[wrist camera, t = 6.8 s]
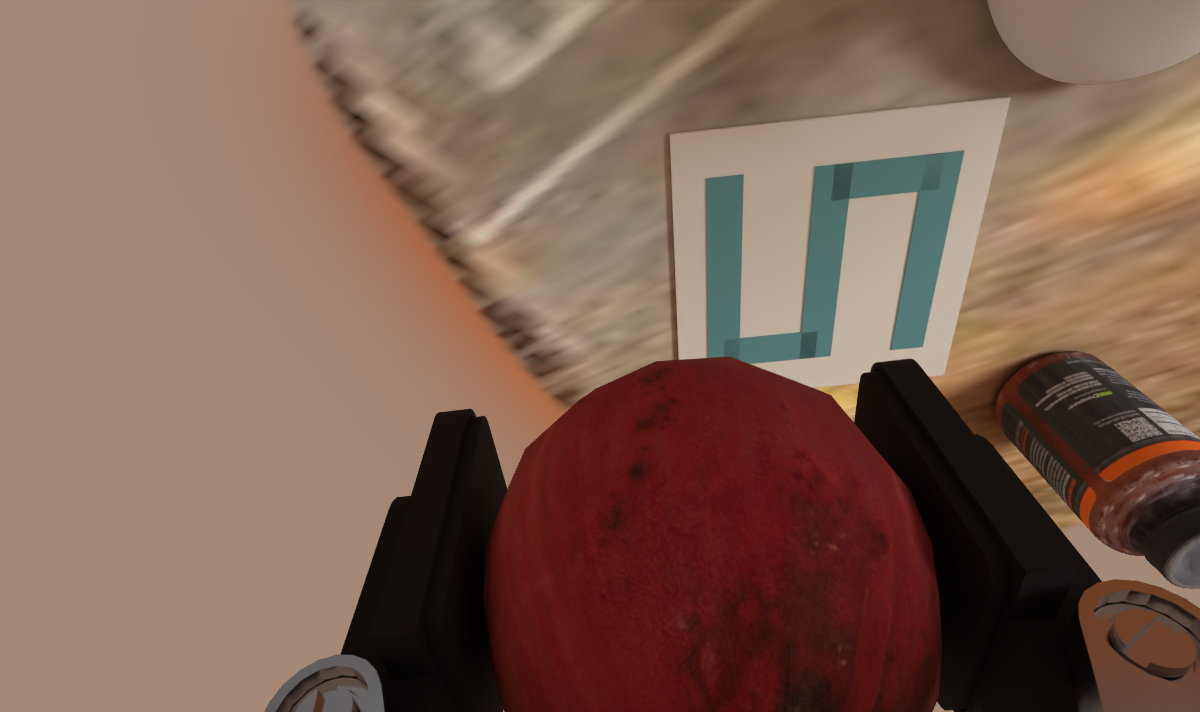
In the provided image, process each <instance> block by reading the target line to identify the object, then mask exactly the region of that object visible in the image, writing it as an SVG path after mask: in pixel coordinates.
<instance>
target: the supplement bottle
mask: <svg viewBox="0 0 1200 712" xmlns="http://www.w3.org/2000/svg"><path fill="white" fill-rule="evenodd" d="M995 418H996V421H997V423H998V425H999V427H1000V428H1001V429H1002V431H1003V432H1004V433H1005V435H1006V436H1007V437H1008V438H1009V440H1010V441H1011V442H1012V443H1013V444H1014V445H1015V446H1016V447H1017V448H1018V450H1019V451H1020V452H1021V453H1022V454H1023V455H1024V456H1025V457H1026V459H1027V460H1028V461H1029V462H1030V463H1031V464H1032V465H1033V466H1034V468H1035V469H1036V470H1037V471H1038V472H1039V473H1040V475H1041V476H1042V477H1043V478H1044V479H1045V480H1046V481H1047V483H1048V484H1049V485H1050V486H1051V487H1052V488H1053V489H1054V490H1055V491H1056V493H1057V494H1058V495H1059V496H1060V497H1061V498H1062V499H1063V501H1064V502H1065V503H1066V504H1067V505H1068V506H1069V507H1070V509H1071V510H1072V511H1073V512H1074V513H1075V514H1076V515H1077V516H1078V518H1079V519H1080V520H1081V521H1082V522H1083V523H1084V524H1085V525H1086V526H1087V528H1088V529H1089V530H1090V531H1091V532H1092V533H1093V534H1094V536H1095V537H1097V538H1098V539H1099V540H1100V541H1101V542H1102V543H1104V544H1105V545H1107V546H1108V547H1110V548H1112V549H1114V550H1116V551H1118V552H1121V553H1125V554H1128V555H1135V556H1145V558H1146V559H1147V560H1148V561H1149V562H1150V564H1152V565H1153V566H1154V567H1155V568H1156V569H1157V570H1158V571H1159V572H1160V573H1161V574H1162V575H1163V576H1164V577H1165V578H1166V579H1167V580H1168V581H1169V582H1170V583H1172V584H1174V585H1175V586H1178V587H1182V588H1190V589H1199V588H1200V438H1198V437H1197V436H1196V435H1195V434H1193V433H1192V432H1191V431H1190V430H1188V429H1187V428H1186V427H1184V426H1183V425H1182V424H1181V423H1179V422H1178V421H1177V420H1176V419H1174V418H1173V417H1172V416H1171V415H1169V414H1168V413H1167V412H1165V411H1164V410H1163V409H1162V408H1161V407H1159V406H1158V405H1157V404H1156V403H1154V402H1153V401H1152V400H1151V399H1149V398H1148V397H1147V396H1145V395H1144V394H1143V393H1142V392H1141V391H1139V390H1138V389H1137V388H1136V387H1134V386H1133V385H1132V384H1130V383H1129V382H1128V381H1127V380H1126V379H1124V378H1123V377H1122V376H1120V375H1119V374H1118V373H1117V372H1115V371H1114V370H1113V369H1112V368H1111V367H1109V366H1108V365H1106V364H1105V363H1103V362H1102V361H1101V360H1099V359H1098V358H1097V357H1095V356H1093V355H1090V354H1087V353H1083V352H1078V351H1069V352H1068V351H1066V352H1058V353H1053V354H1049V355H1046V356H1044V357H1041V358H1039V359H1037V360H1034V361H1033V362H1030V363H1028V364H1027V365H1025V366H1024V367H1023V368H1021V369H1020V370H1019V371H1017V372H1016V373H1015V374H1014V375H1013V376H1012V377H1011V378H1010V379H1009V380H1008V381H1007V382H1006V383H1005V384H1004V386H1003V388H1002V389H1001V391H1000V392H999V394H998V396H997V399H996V403H995Z"/></svg>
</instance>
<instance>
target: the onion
mask: <svg viewBox="0 0 1200 712" xmlns="http://www.w3.org/2000/svg"><path fill="white" fill-rule="evenodd" d="M483 601H484V610H485V618H486V627H487V635H488V644H489V652H490V659H491V664H492V668H493V672H494V676H495V680H496V685H497V689H498V693H499V697H500V701H501V705H502V707H503V709H504V711H505V712H932V711H933V709H934V707H935V704H936V702H937V700H938V697H939V687H940V675H941V663H942V633H941V617H940V600H939V593H938V585H937V577H936V570H935V562H934V554H933V547H932V543H931V540H930V538H929V535H928V533H927V530H926V528H925V525H924V523H923V520H922V518H921V516H920V513H919V511H918V508H917V506H916V503H915V501H914V498H913V496H912V493H911V491H910V489H909V488H908V487H907V486H906V485H905V483H904V482H903V481H902V480H901V479H900V477H899V476H898V475H897V474H896V473H895V472H894V470H893V469H892V468H891V467H890V466H889V464H888V463H887V462H886V461H885V460H884V458H883V457H882V456H881V455H880V454H879V453H878V451H877V450H876V449H875V448H874V447H873V445H872V444H871V443H870V442H869V441H868V439H867V438H866V437H865V436H864V435H863V433H862V432H861V431H860V430H859V429H858V427H857V426H856V425H855V424H854V422H853V421H852V420H851V419H850V418H849V416H848V415H847V414H846V413H845V412H844V410H843V409H842V408H841V407H840V406H839V404H838V403H837V402H836V401H835V400H834V398H833V397H832V396H831V395H829V394H827V393H824V392H822V391H819V390H817V389H814V388H812V387H809V386H807V385H804V384H802V383H799V382H797V381H794V380H792V379H789V378H786V377H783V376H781V375H778V374H775V373H773V372H770V371H767V370H765V369H762V368H759V367H757V366H754V365H751V364H749V363H746V362H743V361H741V360H738V359H735V358H732V357H730V356H726V357H712V358H698V359H684V360H670V361H656V362H654V363H652V364H649V365H647V366H645V367H643V368H641V369H638V370H636V371H634V372H632V373H630V374H627V375H625V376H623V377H621V378H619V379H616V380H614V381H612V382H610V383H607V384H605V385H603V386H601V387H599V388H596V389H595V390H593V391H592V392H591V393H589V394H588V395H586V396H585V397H583V398H582V399H581V400H579V401H578V402H577V403H576V404H574V405H573V406H572V407H571V408H570V409H569V410H568V411H567V412H566V413H564V414H563V415H562V416H561V417H560V418H559V419H558V420H557V421H556V422H554V423H553V424H552V425H551V426H550V427H549V428H548V429H547V430H546V431H545V432H543V433H542V434H541V435H540V436H539V437H538V438H537V439H536V440H535V441H533V443H531V444H530V445H529V446H528V447H527V448H526V449H525V451H524V453H523V455H522V458H521V460H520V462H519V465H518V467H517V469H516V471H515V474H514V476H513V478H512V480H511V483H510V485H509V487H508V490H507V492H506V494H505V496H504V499H503V501H502V503H501V506H500V509H499V511H498V514H497V517H496V520H495V523H494V526H493V528H492V531H491V534H490V537H489V540H488V542H487V545H486V548H485V566H484V590H483Z"/></svg>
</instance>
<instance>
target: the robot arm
mask: <svg viewBox="0 0 1200 712" xmlns="http://www.w3.org/2000/svg"><path fill="white" fill-rule="evenodd" d="M854 424H855V425H856V426H857V427H858V429H859V430H860V431H861V432H862V433H863V435H864V436H865V437H866V438H867V439H868V441H869V442H870V443H871V444H872V445H873V447H874V448H875V449H876V450H877V451H878V453H879V454H880V455H881V456H882V457H883V458H884V460H885V461H886V462H887V463H888V464H889V466H890V467H891V468H892V469H893V470H894V472H895V473H896V474H897V475H898V476H899V477H900V479H901V480H902V481H903V482H904V483H905V485H906V486H907V487H908V488H909V489H910V491H911V493H912V496H913V498H914V501H915V503H916V506H917V508H918V511H919V513H920V516H921V518H922V520H923V523H924V525H925V528H926V530H927V533H928V535H929V538H930V540H931V543H932V547H933V554H934V562H935V570H936V577H937V585H938V593H939V600H940V617H941V633H942V663H941V675H940V687H939V697H938V700H937V702H938V703H939V705H940V706H941V707H942V708H943V709H944V710H953V711H954V712H1200V608H1199V607H1197V606H1196V605H1194V604H1193V603H1191V602H1189V601H1188V600H1187V599H1185V598H1183V597H1181V596H1179V595H1176V594H1174V593H1172V592H1170V591H1167V590H1165V589H1163V588H1161V587H1157V586H1154V585H1150V584H1146V583H1143V582H1139V581H1130V580H1117V579H1115V580H1109V581H1104V582H1102V581H1101V580H1100V579H1099V577H1098V576H1097V575H1096V573H1095V572H1094V571H1093V570H1092V568H1091V567H1090V566H1089V565H1088V563H1087V562H1086V561H1085V560H1084V559H1083V557H1082V556H1081V555H1080V554H1079V552H1078V551H1077V550H1076V549H1075V547H1074V546H1073V545H1072V544H1071V542H1070V541H1069V540H1068V539H1067V537H1066V536H1065V535H1064V534H1063V532H1062V531H1061V530H1060V529H1059V527H1058V526H1057V525H1056V524H1055V522H1054V521H1053V520H1052V519H1051V517H1050V516H1049V515H1048V514H1047V513H1046V511H1045V510H1044V509H1043V508H1042V506H1041V505H1040V504H1039V503H1038V501H1037V500H1036V499H1035V498H1034V496H1033V495H1032V494H1031V493H1030V491H1029V490H1028V489H1027V488H1026V486H1025V485H1024V484H1023V483H1022V481H1021V480H1020V479H1019V478H1018V476H1017V475H1016V474H1015V473H1014V471H1013V470H1012V469H1011V468H1010V467H1009V465H1008V464H1007V463H1006V462H1005V460H1004V459H1003V458H1002V457H1001V455H1000V454H999V453H998V452H997V450H996V449H995V448H994V447H993V445H992V444H991V443H990V442H989V441H988V440H987V439H985V438H984V437H982V436H980V435H977V434H976V435H974V434H973V433H972V431H971V430H970V429H969V428H968V426H967V425H966V424H965V422H964V421H963V420H962V419H961V417H960V416H959V415H958V413H957V412H956V411H955V410H954V408H953V407H952V406H951V405H950V403H949V402H948V401H947V399H946V398H945V397H944V396H943V394H942V393H941V392H940V391H939V389H938V388H937V387H936V385H935V384H934V383H933V382H932V380H931V379H930V378H929V377H928V375H927V374H926V373H925V371H924V370H923V369H922V368H921V366H920V365H919V364H918V363H917V362H916V361H915V360H914V359H901V360H892V361H884V362H876V363H874V364H873V366H872V367H871V371H870V372H867V373H863V374H862V375H861V377H860V382H859V390H858V398H857V406H856V414H855V422H854ZM506 492H507V487H506V483H505V480H504V476H503V473H502V470H501V466H500V462H499V459H498V455H497V452H496V448H495V445H494V441H493V438H492V434H491V431H490V427H489V424H488V421H487V418H486V417H485V416H480V417H476V416H475V413H474V411H473V410H472V409H465V410H456V411H448V412H439V413H437V414H436V416H435V418H434V422H433V425H432V428H431V431H430V435H429V438H428V441H427V445H426V448H425V452H424V455H423V458H422V461H421V465H420V468H419V471H418V474H417V478H416V481H415V484H414V488H413V491H412V494H411V496H405V497H397V498H396V499H395V500H394V501H393V502H392V504H391V506H390V508H389V511H388V514H387V517H386V520H385V523H384V526H383V529H382V532H381V535H380V538H379V541H378V544H377V547H376V550H375V553H374V556H373V559H372V562H371V565H370V568H369V571H368V574H367V577H366V580H365V583H364V586H363V589H362V592H361V595H360V598H359V601H358V604H357V607H356V610H355V613H354V616H353V619H352V622H351V625H350V628H349V631H348V634H347V637H346V640H345V643H344V646H343V649H342V652H341V655H335V656H331V657H328V658H324V659H320V660H317V661H316V662H314V663H312V664H311V665H308V666H307V667H305V668H303V669H301V670H300V671H298V672H297V673H296V674H295V675H294V676H293V677H291V678H290V679H289V680H288V681H287V682H286V683H284V685H282V687H281V688H280V689H279V690H278V692H277V693H276V694H275V696H274V697H273V698H272V699H271V701H270V702H269V704H268V706H267V708H266V710H265V712H503V707H502V705H501V701H500V697H499V693H498V689H497V685H496V680H495V676H494V672H493V668H492V664H491V659H490V652H489V644H488V635H487V627H486V618H485V610H484V601H483V590H484V566H485V548H486V545H487V542H488V540H489V537H490V534H491V531H492V528H493V526H494V523H495V520H496V517H497V514H498V511H499V509H500V506H501V503H502V501H503V499H504V496H505V494H506Z"/></svg>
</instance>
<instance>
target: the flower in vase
mask: <svg viewBox="0 0 1200 712" xmlns="http://www.w3.org/2000/svg"><path fill="white" fill-rule="evenodd" d="M987 1H988V6H989V9H990V12H991V16H992V19H993V22H994V25H995V26H996V28H997V30H998V32H999V34H1000V36H1001V38H1002V40H1003V42H1004V43H1005V44H1006V46H1007V47H1008V48H1009V49H1010V51H1011V52H1012V53H1013V55H1015V56H1016V57H1017V58H1018V59H1019V60H1020V61H1021V62H1022V63H1023V64H1024V65H1026V66H1027V67H1029V68H1030V69H1032V70H1034V71H1035V72H1037V73H1039V74H1040V75H1043V76H1045V77H1048V78H1051V79H1053V80H1056V81H1060V82H1066V83H1071V84H1084V85H1096V84H1106V83H1114V82H1118V81H1123V80H1127V79H1131V78H1135V77H1139V76H1143V75H1148V74H1151V73H1154V72H1156V71H1159V70H1162V69H1165V68H1168V67H1171V66H1173V65H1175V64H1177V63H1179V62H1181V61H1183V60H1186V59H1188V58H1190V57H1192V56H1194V55H1195V54H1197V53H1199V52H1200V0H987Z"/></svg>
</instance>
